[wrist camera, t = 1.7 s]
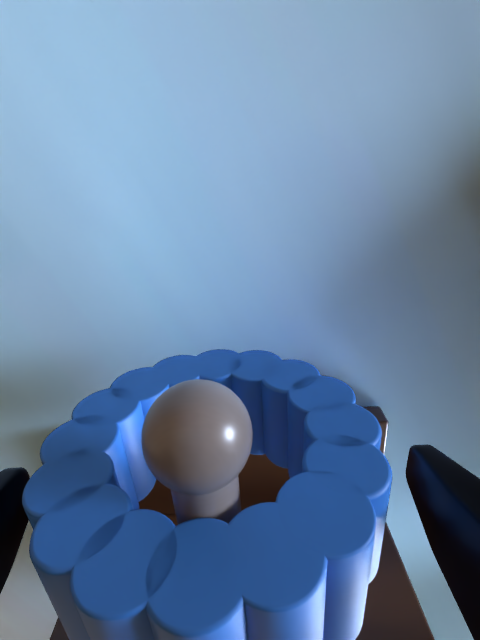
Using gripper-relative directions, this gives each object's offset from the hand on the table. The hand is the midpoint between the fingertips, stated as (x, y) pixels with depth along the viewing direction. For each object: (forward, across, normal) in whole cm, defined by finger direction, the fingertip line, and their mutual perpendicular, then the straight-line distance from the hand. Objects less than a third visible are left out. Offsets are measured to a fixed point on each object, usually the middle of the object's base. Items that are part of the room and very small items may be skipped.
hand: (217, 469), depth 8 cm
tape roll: (0, 0, 0) cm, 0 cm away
